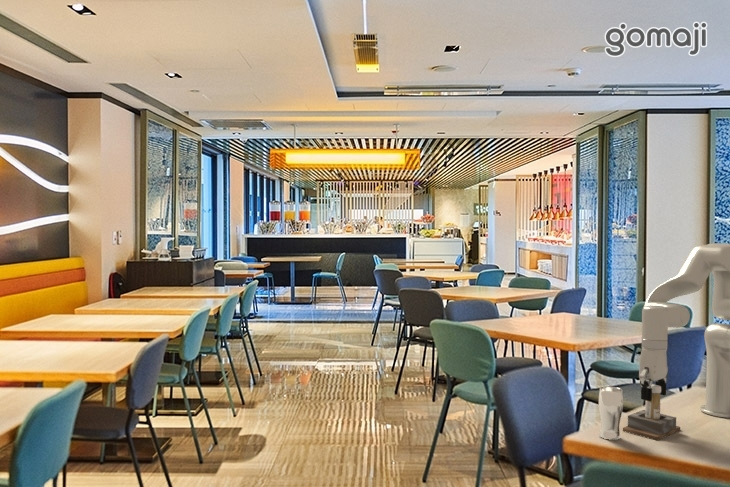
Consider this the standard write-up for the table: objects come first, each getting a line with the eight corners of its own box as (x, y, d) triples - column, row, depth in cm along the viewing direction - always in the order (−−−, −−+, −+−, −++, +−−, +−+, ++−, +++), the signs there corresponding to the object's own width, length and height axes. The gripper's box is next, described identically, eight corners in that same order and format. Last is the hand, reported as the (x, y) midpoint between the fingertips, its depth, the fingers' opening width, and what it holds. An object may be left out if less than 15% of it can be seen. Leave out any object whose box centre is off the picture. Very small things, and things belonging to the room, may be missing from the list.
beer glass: (623, 441, 189) (625, 392, 189) (599, 439, 191) (601, 391, 190) (619, 434, 196) (620, 386, 196) (596, 432, 198) (597, 385, 197)
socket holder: (646, 421, 210) (647, 408, 210) (680, 429, 202) (680, 416, 201) (622, 430, 200) (623, 416, 200) (657, 440, 191) (657, 425, 191)
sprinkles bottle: (661, 430, 198) (662, 388, 197) (645, 428, 199) (646, 386, 199) (658, 425, 202) (660, 384, 202) (643, 424, 204) (644, 383, 203)
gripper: (655, 339, 208) (654, 390, 209) (629, 346, 197) (628, 399, 198) (678, 342, 203) (677, 394, 203) (653, 349, 192) (652, 405, 192)
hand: (653, 397), depth 201 cm, fingers open, 9 cm apart
